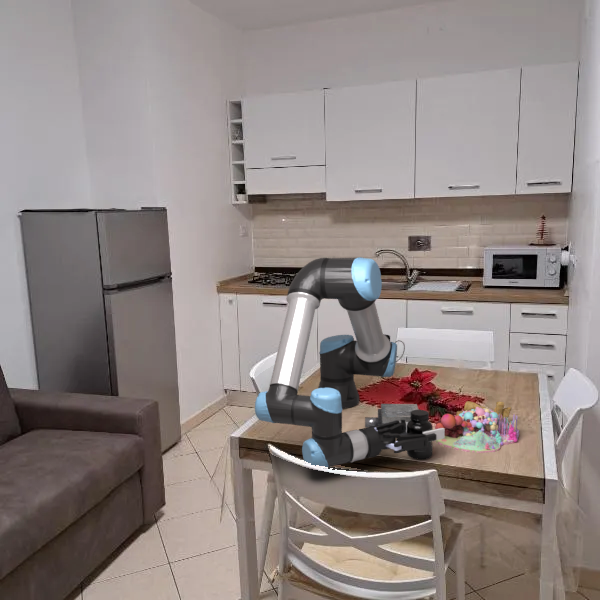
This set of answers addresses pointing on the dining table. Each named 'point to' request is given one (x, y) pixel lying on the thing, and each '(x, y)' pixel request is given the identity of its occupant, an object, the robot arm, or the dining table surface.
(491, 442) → the candy landscape model
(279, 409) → the robot arm
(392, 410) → the block
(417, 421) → the supplement bottle
